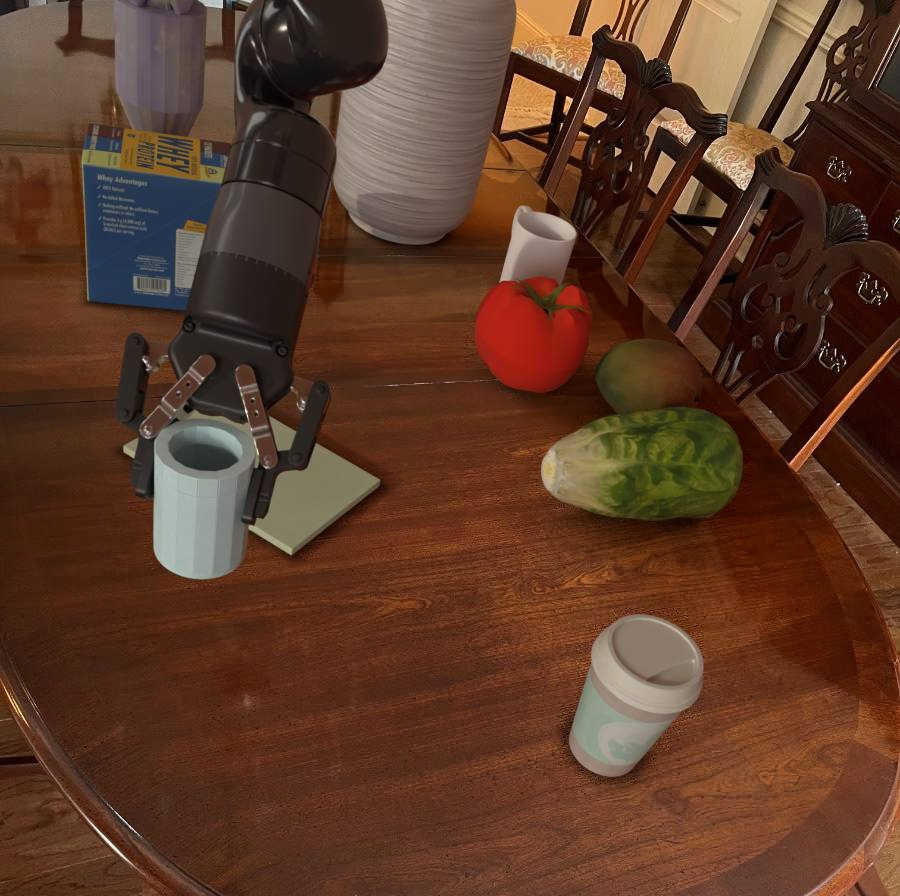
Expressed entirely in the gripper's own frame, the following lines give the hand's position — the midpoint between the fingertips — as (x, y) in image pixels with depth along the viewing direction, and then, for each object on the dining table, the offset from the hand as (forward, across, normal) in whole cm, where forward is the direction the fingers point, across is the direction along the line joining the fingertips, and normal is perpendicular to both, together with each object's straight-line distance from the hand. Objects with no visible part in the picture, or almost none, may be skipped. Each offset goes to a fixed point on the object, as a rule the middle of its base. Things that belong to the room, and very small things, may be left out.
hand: (196, 510), depth 66 cm
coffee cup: (+10, +34, +12) cm, 37 cm away
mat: (-7, -1, +29) cm, 30 cm away
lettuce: (-12, +36, +35) cm, 51 cm away
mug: (-42, +22, +64) cm, 80 cm away
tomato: (-27, +23, +50) cm, 61 cm away
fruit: (-25, +37, +48) cm, 65 cm away
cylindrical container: (+2, 0, +5) cm, 5 cm away
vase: (-50, +3, +73) cm, 89 cm away
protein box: (-27, -20, +50) cm, 60 cm away
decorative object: (-41, -27, +64) cm, 81 cm away
